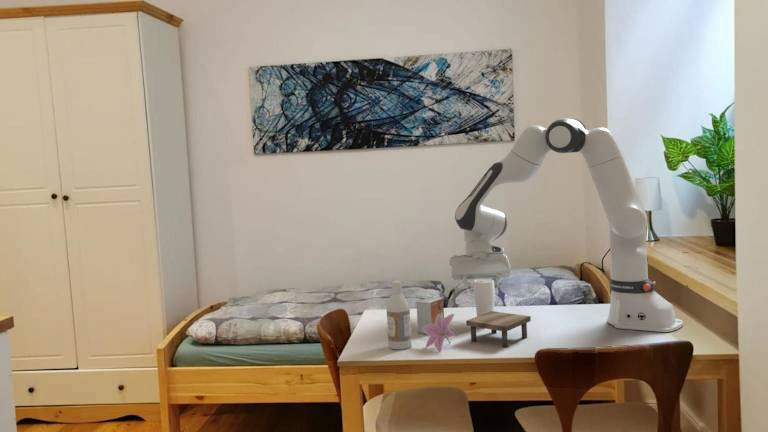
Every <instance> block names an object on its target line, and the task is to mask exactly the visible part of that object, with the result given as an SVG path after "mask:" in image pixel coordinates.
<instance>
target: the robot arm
mask: <svg viewBox="0 0 768 432" xmlns="http://www.w3.org/2000/svg"><path fill="white" fill-rule="evenodd" d="M552 151H553V152H554V153H559V154H569V153H580V154H581V155H582V157H583V159H584V160H585V163H586V165H587V168H588V171H589V173H590V175H591V178H592V181H593V183H594V186H595V188H596V191H597V193H598V196H599V199H600V202H601V204H602V207H603V209H604V213H605V214H606V217H607V220H608V223H609V243H610V244H609V247H610V248H609V250H610V251H609V252H610V253H609V254H610V278H609V293H610V305H609V312H608V315H607V318H606V322H607V323H608V324H610V325H613V326H614V328H616V329H620V330H621V329H623V330H632V331H633V330H635V331H636V330H637V331H645V332H646V331H649V332H659V333H669V332H674V331H676V330H679V329H681V328H682V327H683V326H684V321H683V320H682V319H679V318H676V314H675V310H674V306H673V304H672V303H671V302H669V301H668V300H666V298H664V297H663V296H662V295H660V294H659V293H658V292H656V291H655V286H656V281H652V280H651V279H650V278H649V275H648V274H649V272H648V271H649V270H648V247H647V231H646V230H647V229H646V228H647V226H648V215H647V212H646V210H645V207H644V205H643V202H642V200H641V198H640V194H639V193H638V190H637V188H636V186H635V183H634V181H633V178H632V176H631V174H630V170H629V168H628V165H627V163H626V161H625V158H624V156H623V153H622V150H621V148H620V146H619V144H618V142H617V141H616V139H615V137H614V135H613V134H612V132H611V131H610V130H609V129H607V128H606V127H596V128H595V127H594V128H592V129H587V127H586V126H585V124H584V123H583V122H582V121H580V120H578V119H577V118H568V117H567V118H566V117H565V118H560V119H556V120H554V121H553V122H551V123H550V124H549V126H548V127H547V128H546V127H544V126H541V125H538V124H537V125H536V124H533V125H528V126H527V127H526V128H524V130H523V132H521V134H520V135H519V137H518V138H517V139H516V141H515V143H514V144H513V146H512V148H511V149H510V152H508V154H507V155H506V156H505V157H504V158H503V159H502V160H500V161H497V162H494V163H493V164H492V165H491V166H490V167H489V168H488V169H487V171H486V172H485V174H484V175H482V177H481V178H480V180H478V182H477V184H476V185H475V186H474V188H473V189H472V191H471V192H470V193H469V194H468V195H467V197H466V198H465V199H463V201H461V203H460V204H459V205H458V206H457V208H456V210H455V212H454V220H455V222H456V224H457V226H458V228H459V229H460V230H463V237H464V241H465V254H460V255H456V254H455V255H453V256H452V257H450V258H449V260H448V261H449V266H451V278H452V279H453V280H454V281H461V280H462V284H464V285H465V287H466V290H472V284H471V283H472V282H469V281H468V280H477V279H496V280H494V289H499V288H500V282H501V281H502V279H503V278H510V276H511V275H512V268H511V263H510V261H509V260H510V259H509V257H508V256H507V255H506V253H505V248H504V247H502V246H497V245H492V244H491V242H494V241H495V240H497V239H499V238H500V237H501V236H503V235H504V234H505V233H506V231H507V228H508V221H507V220H508V219H507V217H506V214H505V213H504V212H503V211H501V210H498V209H495V208H493V207H488V206H486V205H483V203H484V201H486V199H487V198H488V196H489V195H490V193H491V192H492V190H494V189H495V188H496V187H497V186H500V185H502V184H503V185H504V184H511V183H512V184H513V183H514V184H515V183H516V184H518V183H524V182H527V181H530V180H532V179H533V177H535V176H536V174H537V173H538V171H539V169H540V167H541V165H542V164H543V161H545V158H546V157H547V155H549V153H550V152H552Z"/></svg>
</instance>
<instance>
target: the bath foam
mask: <svg viewBox="0 0 768 432" xmlns="http://www.w3.org/2000/svg"><path fill="white" fill-rule="evenodd" d="M402 285H403V284H402V281H400V280H393V281H392V282H391V296H390V297H389V299H388V301H387V304H386V319H387V321H386V322H387V324H386V325H387V339H388V347H389V349H391V350H396V351H397V350H398V351H399V350H407V349H409V348H411V347H412V327H411V325H412V324H411V309H410V304H409V302H408V300H407V298H406V296H405V295H404V294H403V288H402V287H403V286H402Z"/></svg>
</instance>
